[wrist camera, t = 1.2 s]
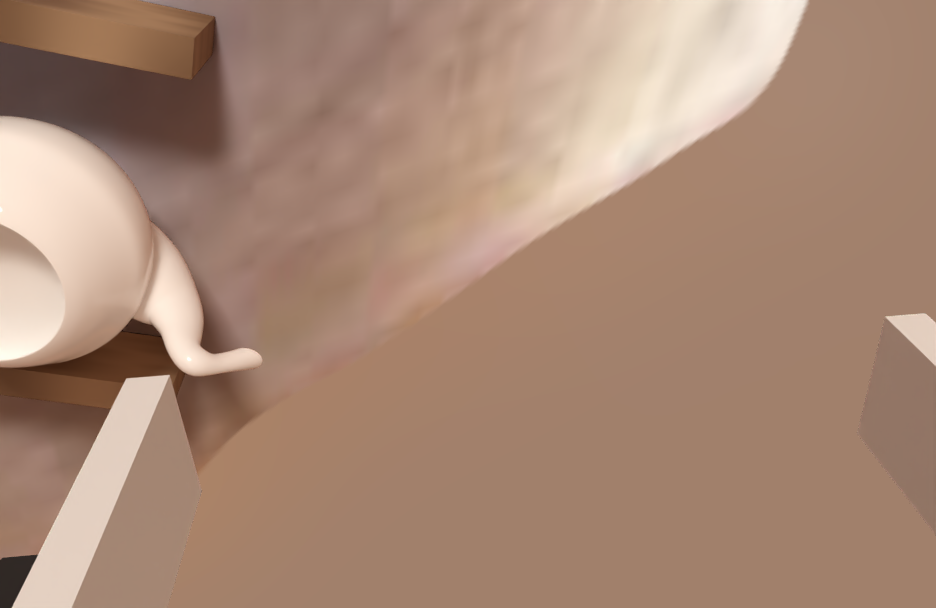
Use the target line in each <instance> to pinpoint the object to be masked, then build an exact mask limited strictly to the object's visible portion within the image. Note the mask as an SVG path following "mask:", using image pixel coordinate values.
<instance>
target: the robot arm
mask: <svg viewBox="0 0 936 608" xmlns="http://www.w3.org/2000/svg"><path fill="white" fill-rule="evenodd" d="M857 434H858V436H859V437H860V438H861V439H862V441H863V442H864V443H865V445H866V446H867V447H868V449H869V450H870V451H871V452H872V454H873V455H874V456H875V458H876V459H877V460H878V461H879V463H880V464H881V465H882V467H883V468H884V469H885V470H886V472H887V473H888V474H889V476H890V477H891V478H892V479H893V481H894V482H895V483H896V485H897V486H898V487H899V489H900V490H901V491H902V492H903V494H904V495H905V496H906V497H907V499H908V500H909V501H910V503H911V504H912V505H913V507H914V508H915V509H916V510H917V512H918V513H919V514H920V516H921V517H922V518H923V519H924V521H925V522H926V523H927V525H928V526H929V527H930V529H931V530H932V531H933V532H934V533H935V535H936V323H935V322H934V321H933V320H932V319H931V318H930V317H929V316H927V315H926V314H925V313H924V314H912V315H901V316H887V317H885V319H884V323H883V327H882V332H881V336H880V341H879V344H878V348H877V352H876V357H875V361H874V365H873V370H872V374H871V378H870V382H869V386H868V390H867V394H866V398H865V403H864V407H863V411H862V415H861V419H860V424H859V428H858V432H857ZM201 492H202V490H201V487H200V483H199V479H198V476H197V472H196V468H195V465H194V461H193V457H192V454H191V450H190V447H189V443H188V439H187V436H186V432H185V428H184V425H183V421H182V418H181V414H180V410H179V407H178V403H177V400H176V396H175V392H174V389H173V385H172V381H171V378H170V375H163V376H151V377H139V378H126V380H125V382H124V384H123V386H122V388H121V390H120V392H119V394H118V396H117V398H116V400H115V402H114V404H113V406H112V408H111V410H110V412H109V414H108V416H107V418H106V420H105V422H104V424H103V426H102V428H101V430H100V432H99V434H98V436H97V438H96V440H95V442H94V444H93V446H92V448H91V450H90V452H89V454H88V456H87V458H86V460H85V462H84V464H83V466H82V468H81V470H80V472H79V474H78V476H77V478H76V480H75V482H74V484H73V486H72V488H71V490H70V492H69V494H68V496H67V498H66V500H65V502H64V504H63V506H62V508H61V510H60V512H59V514H58V516H57V518H56V520H55V522H54V524H53V526H52V528H51V530H50V532H49V534H48V536H47V538H46V540H45V542H44V544H43V546H42V548H41V550H40V552H39V554H38V555H30V556H19V557H7V558H2V559H1V560H0V608H167V607H168V603H169V600H170V596H171V593H172V590H173V586H174V583H175V580H176V576H177V573H178V570H179V566H180V563H181V559H182V556H183V553H184V549H185V546H186V543H187V539H188V536H189V533H190V529H191V526H192V523H193V519H194V516H195V512H196V509H197V506H198V502H199V499H200V496H201Z"/></svg>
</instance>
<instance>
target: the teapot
mask: <svg viewBox="0 0 936 608" xmlns="http://www.w3.org/2000/svg"><path fill="white" fill-rule="evenodd" d="M131 319H135V320H137V321H139V322H142V323H145V324H149V325H153V326H154V327H155V328H156V329H157V331H158V332H159V333H160V334H161V336H162V339H163V342H164V345H165V347H166V350H167V352H168V354H169V356H170V358H171V359H172V361H173V362H174V364H175V365H176V366H177V367H178V368H179V369H180V370H181V371H183V372H184V373H186V374H188V375H191V376H208V375H214V374H219V373H226V372H233V371H240V370H249V369H255V368H258V367H259V366H261V365H262V361H263V360H262V357H261V356H260V354H259V353H257V352H256V351H254V350H252V349H248V348H239V349H235V350H232V351H228V352H224V353H218V354H212V353H209V352H207V351H206V350H204V349H203V348H202V347H201V339H202V334H203V326H204V315H203V309H202V304H201V301H200V297H199V294H198V291H197V288H196V285H195V283H194V280H193V278H192V275H191V272H190V270H189V268H188V266H187V264H186V262H185V260H184V259H183V257H182V255H181V254H180V252H179V250H178V249H177V248H176V247H175V245H174V244H173V243H172V242H171V240H170V239H169V238H168V237H167V236H166V235H165V234H164V233H163V232H162V231H161V230H160V229H159V228H158V227H157V226H156V225H155V224H154V223H153V222H152V221H150V219H149V216H148V213H147V210H146V207H145V205H144V203H143V200H142V198H141V196H140V194H139V192H138V191H137V189H136V187H135V186H134V184H133V182H132V181H131V180H130V178H129V177H128V175H127V174H126V173H125V172H124V170H123V169H122V168H121V167H120V166H119V165H118V164H117V163H116V162H115V161H114V160H113V159H112V158H111V157H110V156H109V155H108V154H107V153H105V152H104V151H103V150H102V149H100V148H99V147H98V146H96V145H95V144H93V143H92V142H90V141H89V140H87V139H85V138H84V137H82V136H80V135H78V134H76V133H74V132H72V131H70V130H67V129H65V128H62V127H60V126H57V125H54V124H51V123H48V122H44V121H40V120H35V119H30V118H24V117H15V116H0V367H1V368H22V367H33V366H40V365H48V364H55V363H61V362H65V361H69V360H73V359H76V358H79V357H81V356H84V355H86V354H89V353H91V352H93V351H95V350H97V349H98V348H100V347H102V346H103V345H105V344H106V343H108V342H109V341H110V340H112V339H113V338H114V337H115V336H117V335H118V334H119V333H120V332H121V331H122V330H123V329H124V327H125V326H126V325H127V324H128V323H129V322H130V320H131Z"/></svg>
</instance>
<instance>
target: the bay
mask: <svg viewBox="0 0 936 608" xmlns="http://www.w3.org/2000/svg"><path fill="white" fill-rule="evenodd" d="M214 25H215V17H214V16H209V15H205V14H200V13H195V12H191V11H186V10H181V9H177V8H172V7H167V6H162V5H158V4H153V3H148V2H144V1H139V0H0V42H3V43H8V44H13V45H18V46H23V47H28V48H34V49H39V50H44V51H49V52H54V53H59V54H64V55H69V56H74V57H79V58H84V59H89V60H94V61H99V62H104V63H109V64H114V65H119V66H124V67H129V68H134V69H139V70H144V71H149V72H155V73H160V74H165V75H170V76H175V77H180V78H185V79H190V80H192V79H193V77H194V76H195V75H196V74H197V72H198V71H199V70H200V69H201V68H202V66H203V65H204V64H205V63H206V61H207V60H208V59H209V58H210V56H211V55H212V51H213V38H214ZM163 375H170V378H171V381H172V385H173V389H174V392H175V396H176V397H177V394H178V391H179V389H180V386H181V383H182V381H183V378H184V376H185V373H184V372H183V371H181V370H180V369H179V368H178V367H177V366H176V365H175V364H174V362H173V361H172V359H171V358H170V356H169V354H168V352H167V350H166V347H165V345H164V342H163V339H162V337H156V336H149V335H142V334H135V333H128V332H120V333H119V334H118V335H117V336H115V337H114V338H113V339H112V340H110V341H109V342H108V343H106V344H105V345H103V346H102V347H100V348H98V349H97V350H95V351H93V352H91V353H89V354H86V355H84V356H81V357H79V358H76V359H73V360H69V361H65V362H61V363H55V364H48V365H40V366H33V367H22V368H1V367H0V395H5V396H13V397H21V398H29V399H37V400H45V401H53V402H61V403H69V404H77V405H85V406H93V407H101V408H108V409H111V408H112V406H113V404H114V402H115V400H116V398H117V396H118V394H119V392H120V390H121V388H122V386H123V384H124V382H125V380H126V378H139V377H151V376H163Z"/></svg>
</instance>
